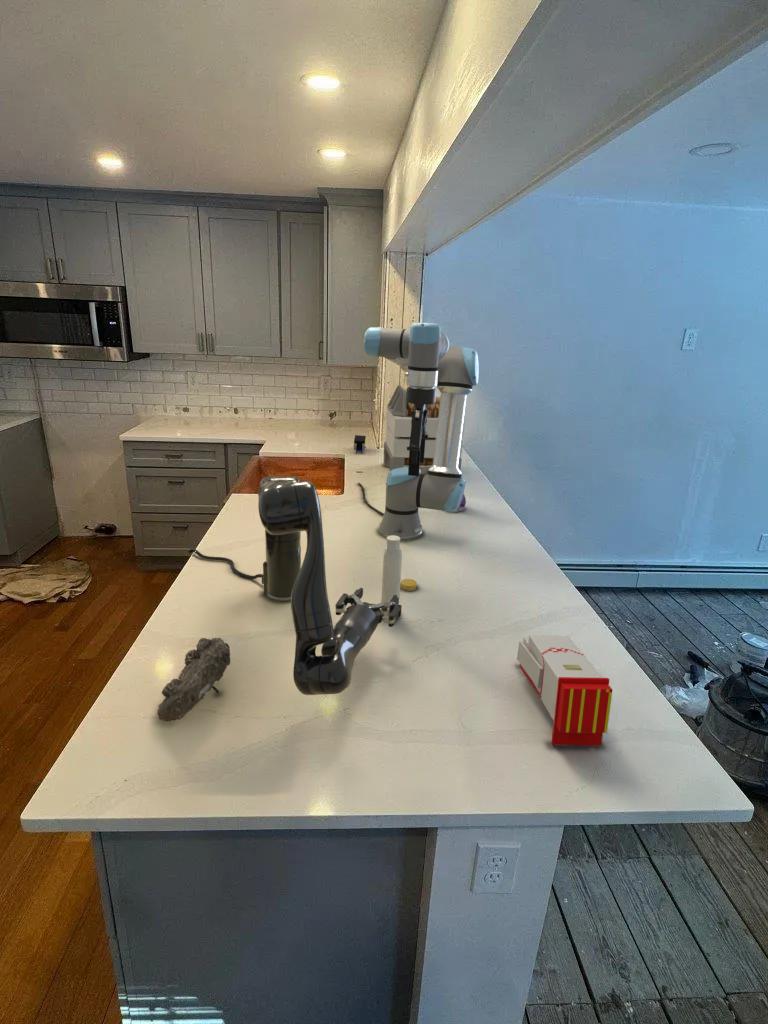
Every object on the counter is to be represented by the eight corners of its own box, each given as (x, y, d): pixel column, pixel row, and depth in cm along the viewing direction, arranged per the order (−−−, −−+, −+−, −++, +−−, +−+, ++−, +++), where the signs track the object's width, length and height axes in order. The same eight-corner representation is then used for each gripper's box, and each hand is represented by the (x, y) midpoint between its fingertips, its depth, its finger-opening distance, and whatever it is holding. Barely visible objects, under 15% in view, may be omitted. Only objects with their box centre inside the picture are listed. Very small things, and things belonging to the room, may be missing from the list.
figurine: (452, 514, 221) (455, 477, 216) (438, 506, 229) (441, 470, 224) (472, 511, 225) (475, 475, 220) (457, 503, 234) (460, 468, 229)
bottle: (385, 609, 150) (389, 532, 142) (401, 613, 148) (406, 536, 140) (377, 616, 146) (380, 538, 138) (393, 621, 144) (398, 542, 137)
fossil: (183, 640, 124) (231, 608, 119) (213, 669, 127) (261, 639, 122) (134, 715, 105) (189, 682, 100) (171, 748, 108) (227, 717, 103)
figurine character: (365, 456, 306) (365, 447, 319) (365, 443, 302) (366, 434, 316) (353, 456, 306) (353, 446, 319) (353, 442, 302) (354, 433, 316)
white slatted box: (382, 463, 289) (386, 382, 275) (445, 464, 293) (451, 384, 279) (390, 482, 257) (394, 392, 243) (460, 483, 261) (468, 394, 247)
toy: (564, 619, 129) (622, 685, 100) (558, 672, 132) (613, 753, 103) (511, 618, 129) (554, 684, 100) (507, 672, 132) (547, 752, 102)
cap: (398, 584, 163) (399, 579, 163) (413, 582, 165) (413, 578, 164) (403, 591, 159) (404, 586, 159) (418, 589, 161) (418, 584, 160)
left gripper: (387, 621, 116) (408, 586, 131) (323, 607, 120) (350, 575, 135) (385, 652, 119) (406, 614, 134) (322, 637, 123) (350, 602, 137)
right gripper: (412, 380, 155) (407, 456, 162) (400, 392, 132) (395, 480, 139) (439, 382, 154) (433, 458, 161) (432, 394, 131) (426, 482, 138)
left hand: (378, 594), depth 134 cm, fingers open, 8 cm apart
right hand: (416, 468), depth 150 cm, fingers open, 13 cm apart
